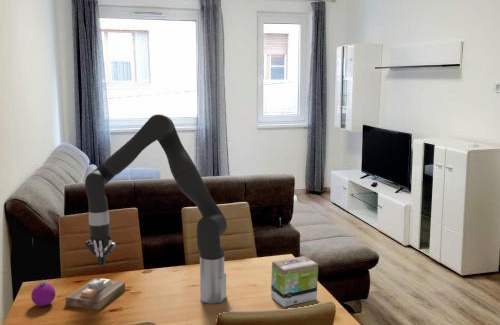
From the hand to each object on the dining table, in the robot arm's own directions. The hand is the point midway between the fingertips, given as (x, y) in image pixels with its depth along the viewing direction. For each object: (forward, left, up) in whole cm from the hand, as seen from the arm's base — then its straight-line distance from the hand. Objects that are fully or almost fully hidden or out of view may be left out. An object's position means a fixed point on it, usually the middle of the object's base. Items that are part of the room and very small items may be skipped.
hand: (102, 265), depth 183 cm
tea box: (-73, -17, -12) cm, 76 cm away
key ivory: (0, 0, -10) cm, 10 cm away
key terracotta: (0, +9, -10) cm, 13 cm away
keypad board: (0, +4, -12) cm, 12 cm away
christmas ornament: (+15, +15, -12) cm, 25 cm away
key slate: (0, +4, -9) cm, 9 cm away
